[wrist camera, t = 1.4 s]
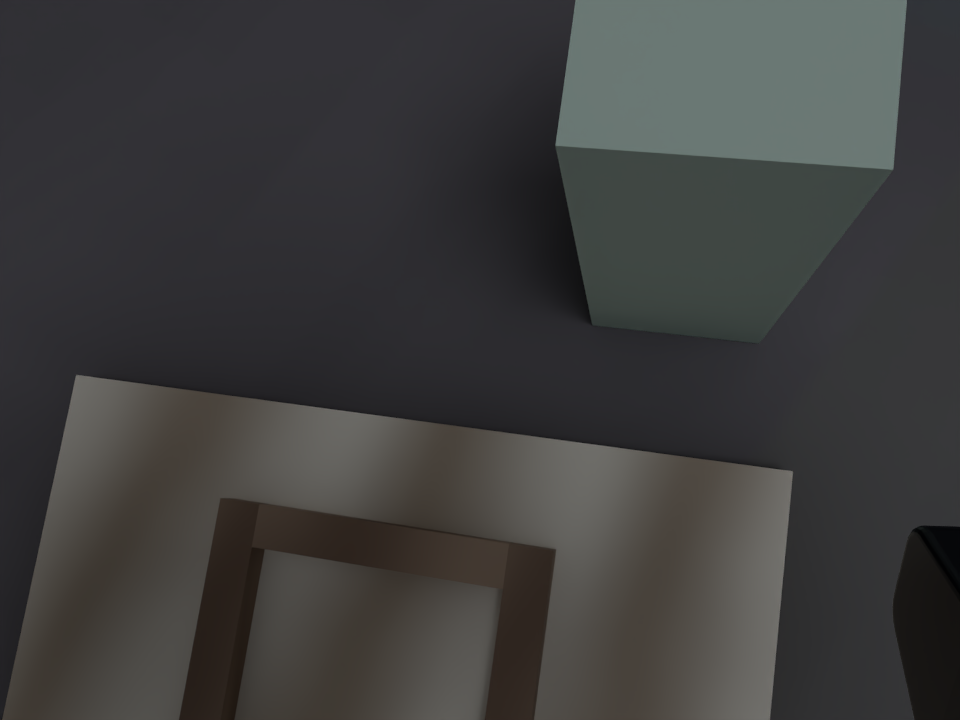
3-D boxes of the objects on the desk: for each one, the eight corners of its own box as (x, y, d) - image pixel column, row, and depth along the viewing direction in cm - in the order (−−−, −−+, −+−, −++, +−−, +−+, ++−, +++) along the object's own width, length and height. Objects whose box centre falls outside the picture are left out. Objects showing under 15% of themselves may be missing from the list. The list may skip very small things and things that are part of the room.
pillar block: (774, 185, 22) (917, -136, 11) (759, 343, 21) (893, 170, 10) (611, 172, 22) (595, -139, 12) (592, 325, 22) (555, 145, 11)
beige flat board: (786, 472, 20) (799, 469, 19) (728, 1087, 18) (738, 1140, 17) (94, 379, 24) (56, 370, 22) (-15, 891, 22) (-64, 921, 20)
